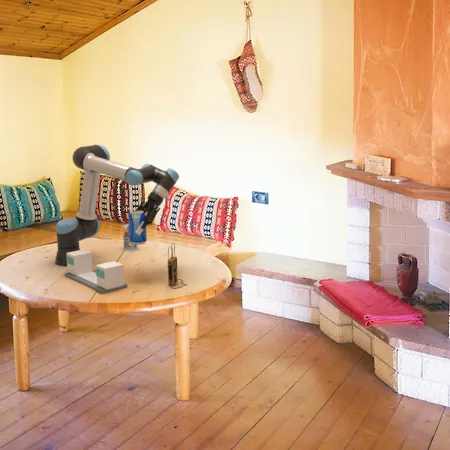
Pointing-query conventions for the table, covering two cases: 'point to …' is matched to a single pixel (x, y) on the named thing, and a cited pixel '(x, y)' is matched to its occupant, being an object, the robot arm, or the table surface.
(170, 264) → the multimeter
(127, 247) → the french press
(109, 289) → the rail board
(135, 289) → the table surface
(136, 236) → the beer can
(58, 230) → the robot arm
